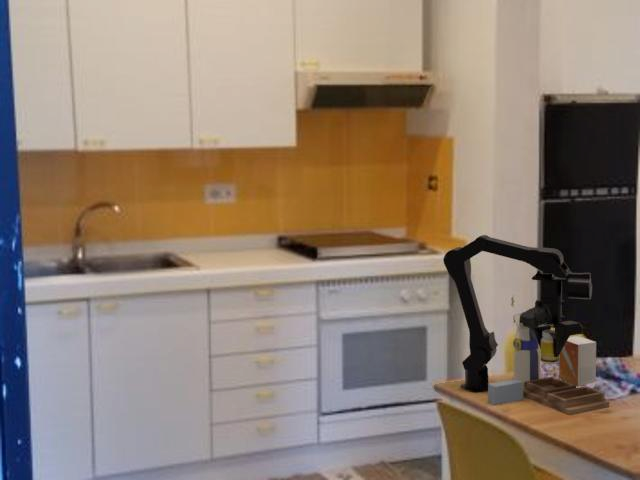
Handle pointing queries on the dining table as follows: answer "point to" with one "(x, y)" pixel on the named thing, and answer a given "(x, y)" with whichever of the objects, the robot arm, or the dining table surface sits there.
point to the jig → (564, 395)
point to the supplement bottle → (548, 348)
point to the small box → (578, 361)
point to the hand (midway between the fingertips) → (549, 354)
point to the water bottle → (525, 352)
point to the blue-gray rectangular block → (505, 392)
